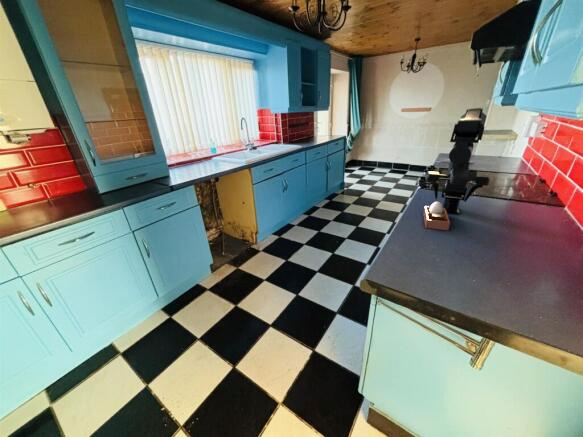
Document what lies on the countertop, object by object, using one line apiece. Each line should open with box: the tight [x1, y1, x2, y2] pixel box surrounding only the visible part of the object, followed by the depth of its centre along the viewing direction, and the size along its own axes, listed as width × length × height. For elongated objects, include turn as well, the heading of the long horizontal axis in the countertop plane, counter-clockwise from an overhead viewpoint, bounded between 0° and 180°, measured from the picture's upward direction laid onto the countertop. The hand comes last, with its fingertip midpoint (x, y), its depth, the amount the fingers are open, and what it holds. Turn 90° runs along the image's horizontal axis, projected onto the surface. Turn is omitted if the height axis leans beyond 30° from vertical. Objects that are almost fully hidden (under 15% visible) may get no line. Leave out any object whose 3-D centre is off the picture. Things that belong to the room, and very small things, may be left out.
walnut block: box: [430, 212, 444, 221], centre depth 94 cm, size 4×4×4 cm
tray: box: [422, 205, 451, 231], centre depth 97 cm, size 8×15×4 cm, turn 156°
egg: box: [429, 201, 443, 213], centre depth 99 cm, size 5×5×7 cm
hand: (450, 200), depth 89 cm, fingers open, 9 cm apart
